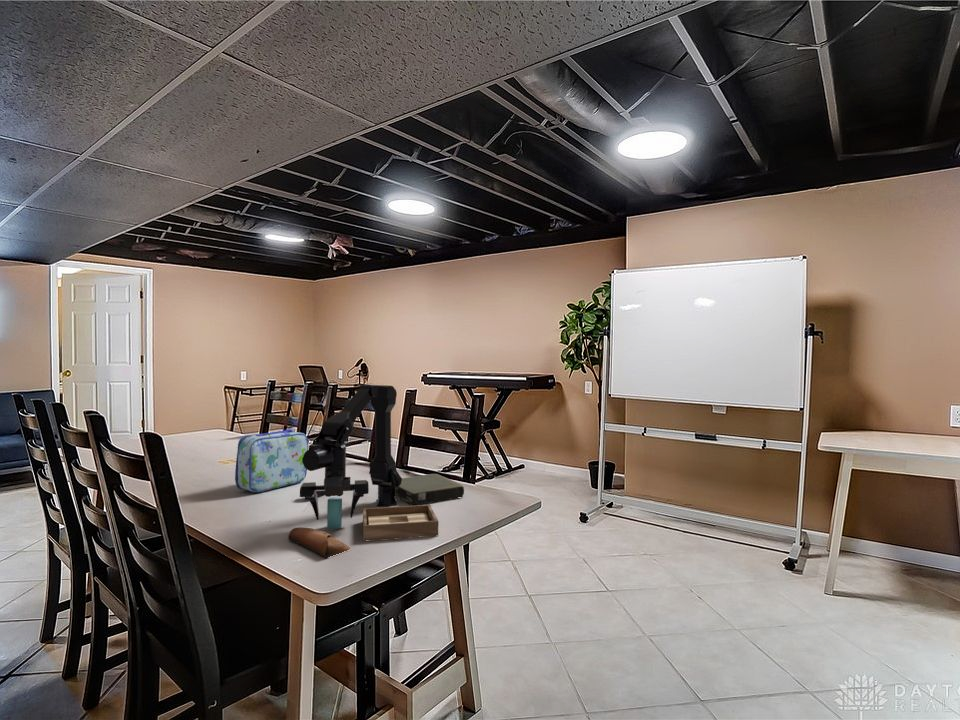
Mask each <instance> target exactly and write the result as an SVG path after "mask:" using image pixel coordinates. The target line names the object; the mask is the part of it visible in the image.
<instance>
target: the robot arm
mask: <svg viewBox="0 0 960 720" xmlns="http://www.w3.org/2000/svg"><path fill="white" fill-rule="evenodd" d="M369 403H370V405H371V408H372V409H373V411H374V412H375V456H374V457H373V459H372V461H370V462H369V465H368V466H369V476H370V480H371V484H372V486H377V499H375V500H376V501H375V502H376V506H377V507H385V506H386V507H387V506H397V505H398V503H397V502H398V501H397V500H396V497H395V487H399V485H401V481H402V478H403V477H402V476H401V475H400V473H399V471H398V470H397V463H396V460H395V459H394V457H393V456H392V424H391V423H392V418H391V417H392V414H391V413H392V410H393V409H394V407H395V405H396V403H397V389H395V387H394V386H393V385H386V384H385V385H384V384H383V385H381V384H380V385H378V384H364V383H363V384H361V385H359V387H358V390H357V391H356V392H355V393H354V395H353V396H352V397H351V398H350V400H348V402H347V403H346V404H345V405H344V407H343V408H342V409H341V410H339V412H337V413H336V414H333V415H331V416H329V418H327V419H326V420H324V422H323V424H322V425H321V428H320V430H319V432H318V434H317V436H316V438H315V440H314V443H313V444H308V450H307V451H306V452H305V453H304V456H303V458H302V461H303V465H304V467H305V468H306V469H307V471H309V472H314V471H318V470H320V469H324V480H323V485H317V483H316V482H314V481H311V482H303V483H302V484H301V485H300V488H299V498H304V500H306V501H308V502H309V503H310V505H311V506H312V509H313V512H314V515H315V517H316V520H317V521H318V520H319V519H320V518H319V517H320V511H319V502H318V501H319V500H318V496H317V492H325V495H324V496H325V497H327V498H329V497H330V498H331V497H342V496H343V495H344V492H352V491H353V492H352V500H351V505H350V515H349V516H350V517H349V518H350V519H352V518H353V515H354V512H355V510H356V506H357V503H358V502H359V500H360V498H363V497H364V496H365V495H367V494H370V493H369V490H370V488H369V481H368V480H367V479H362V480H361V479H360V480H359V479H358V480H354V483H351V476H346V472H347V471H346V470H347V469H346V467H347V466H346V465H347V464H346V461H347V455H346V454H347V448H348V447H351V443H350V442H349V441H348V439H349V437H350V436H351V434H352V432H353V430H354V422H355V421H356V420H357V418H358V417H359V416H360V415H361V413H362V412H363V411H364V409H365V408H366V407H367V405H368V404H369Z"/></svg>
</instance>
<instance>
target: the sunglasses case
mask: <svg viewBox="0 0 960 720" xmlns="http://www.w3.org/2000/svg"><path fill="white" fill-rule="evenodd" d="M287 536H288V537H287V539H288V540H290V542H293V543H295V544H296V543H297V544H298V545H301V546H304V547H305V548H307V549H309V550H312V551H313V552H315V553H317V554H319V555H321V556H322V557H325V558H326V557H330V556H333V555H336V554H339V553H342V552H344V551H347V550H349V549H350V548H351V547H350V546H349V545H348V544H346V543H344V542H343V541H341V540H339V539H337V538H336V537H333V536H332V534H330V533H328V532H326V531H324V530H318V529H316V528H311V527H303V526H302V527H301V526H300V527H294V528H292V529H291V530H290V531H289V533H288V535H287ZM347 552H348V551H347ZM342 554H343V553H342ZM339 555H340V554H339ZM336 556H337V555H336ZM333 557H334V556H333Z"/></svg>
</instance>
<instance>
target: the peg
mask: <svg viewBox="0 0 960 720" xmlns="http://www.w3.org/2000/svg"><path fill="white" fill-rule="evenodd" d="M326 505H327V506H326V507H327V509H326V510H327V511H326V512H327V513H326V514H327V515H326V517H327V518H326V521H327V522H326V529H327V528H328V529H327V530H330V529H335V530H339V529H338V528H340V529H341V528H342V526H343V525H342V524H343V520H342V519H343V518H342V517H343V498H341V497H330V498H329V497H328V498H327V504H326Z"/></svg>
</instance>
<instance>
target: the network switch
mask: <svg viewBox="0 0 960 720" xmlns="http://www.w3.org/2000/svg"><path fill="white" fill-rule="evenodd" d="M401 478H402V481H401V485H399V487H395V498H399V500H402V501H404V502H407V503H408V504H410V506H415V505H426V504H430V503H436V502H440V501H450V500H449V499H452V500H455V499H454V498H458V497H462V498H463V497H464V494H465V488H464V487H465V486H464V485H463V483H462V484H461V483H460V482H457V481H454V480H452V479H450V478H448V477H445V476H442V475H440V474H438V473H429V474H422V475H415V476H410V477H401ZM458 499H459V498H458Z"/></svg>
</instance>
